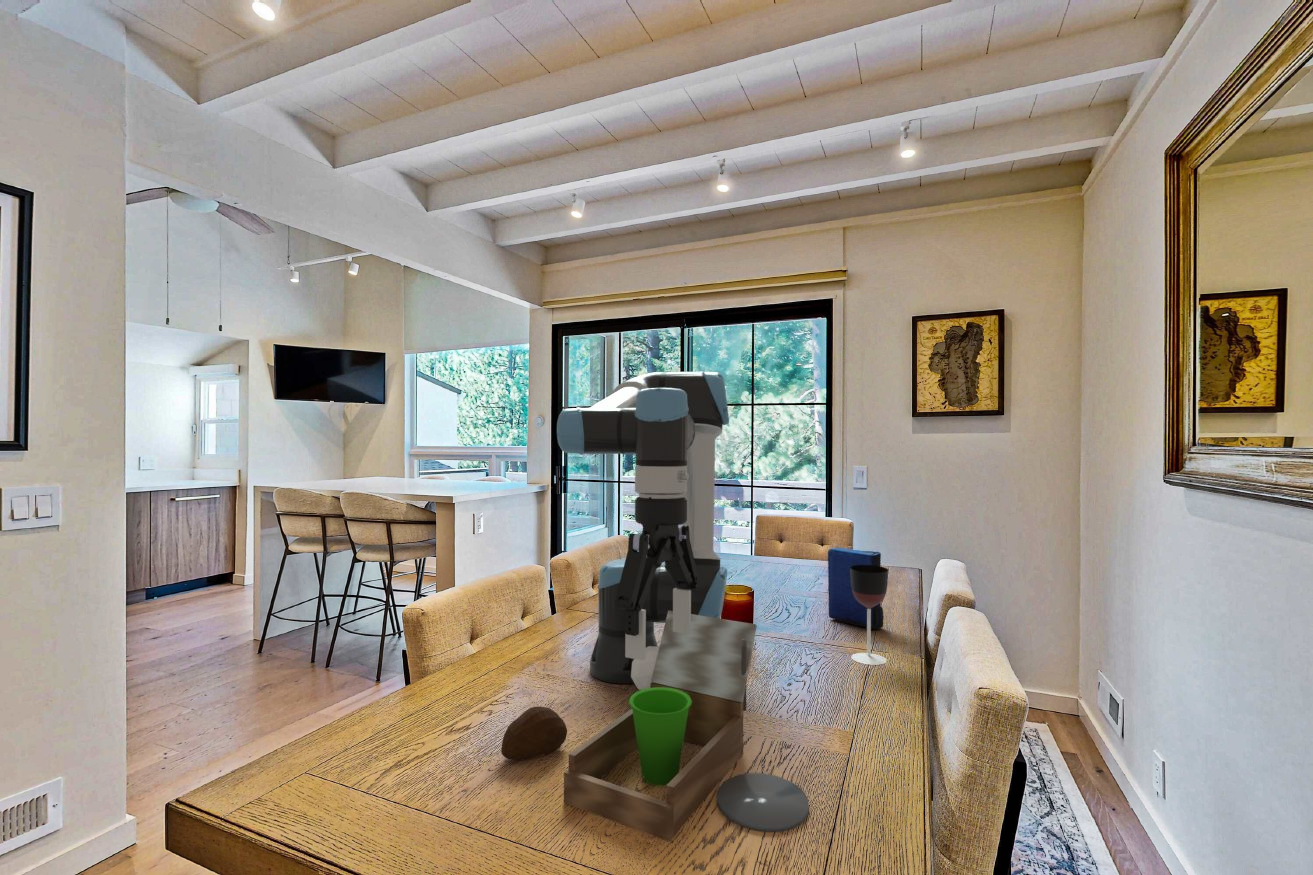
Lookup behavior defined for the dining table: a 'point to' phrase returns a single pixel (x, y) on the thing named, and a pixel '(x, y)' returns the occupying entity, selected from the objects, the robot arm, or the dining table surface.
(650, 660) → the beige half-round piece
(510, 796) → the dining table surface
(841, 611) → the book
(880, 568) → the wineglass
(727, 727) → the cold frame
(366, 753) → the dining table surface
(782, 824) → the gray round coaster
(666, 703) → the cup
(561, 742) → the potato
